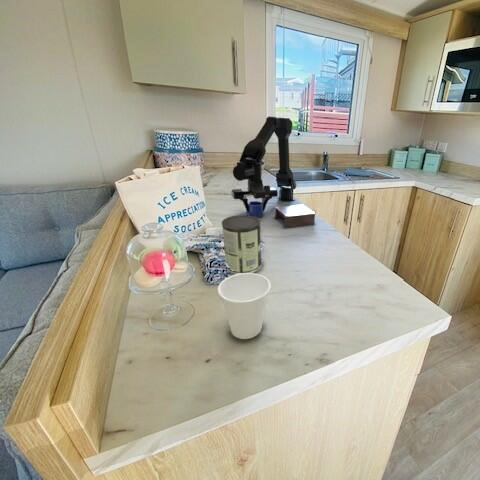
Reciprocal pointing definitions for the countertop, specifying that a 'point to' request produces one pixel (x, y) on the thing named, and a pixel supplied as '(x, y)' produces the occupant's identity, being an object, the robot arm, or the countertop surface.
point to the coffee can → (242, 243)
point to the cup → (244, 302)
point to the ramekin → (255, 208)
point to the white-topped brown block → (295, 215)
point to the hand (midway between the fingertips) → (255, 212)
